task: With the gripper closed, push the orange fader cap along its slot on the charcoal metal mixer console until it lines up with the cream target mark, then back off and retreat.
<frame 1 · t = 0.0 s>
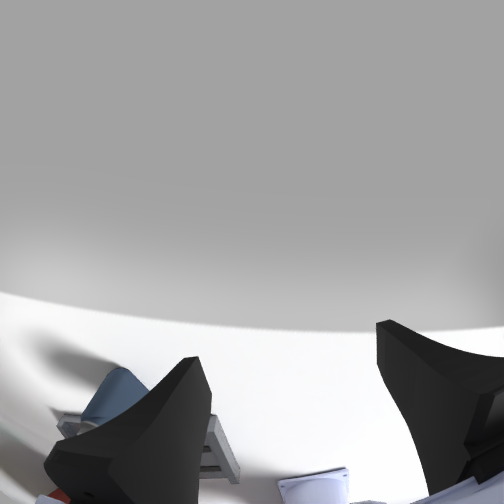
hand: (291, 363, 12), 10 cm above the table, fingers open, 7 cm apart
vaping device: (134, 386, 25), on the table
mixer console: (147, 446, 27), on the table
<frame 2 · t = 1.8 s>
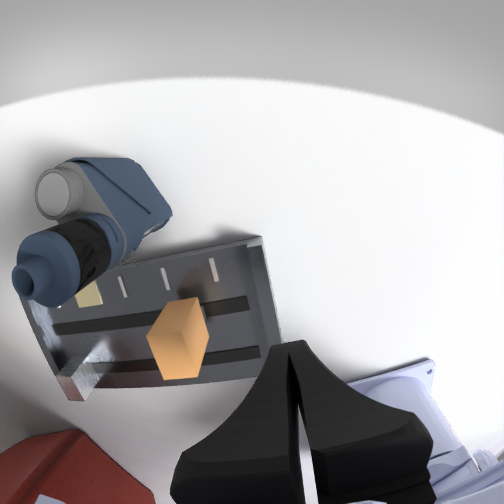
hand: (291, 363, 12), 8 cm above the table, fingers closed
plant pot: (87, 466, 27), on the table
orange fader: (182, 332, 16), point 4 cm above the table, slide at 0.0 cm
vaping device: (142, 196, 18), on the table
mixer console: (145, 325, 20), on the table
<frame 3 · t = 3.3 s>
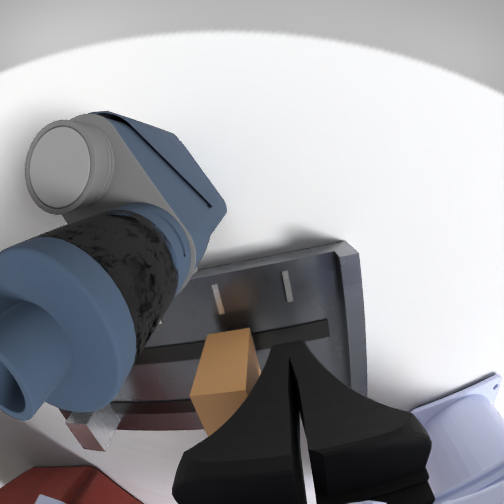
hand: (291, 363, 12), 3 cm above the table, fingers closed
plant pot: (101, 499, 22), on the table
orange fader: (232, 377, 12), point 4 cm above the table, slide at 0.8 cm, touching gripper
vaping device: (182, 185, 14), on the table
mixer console: (183, 356, 16), on the table
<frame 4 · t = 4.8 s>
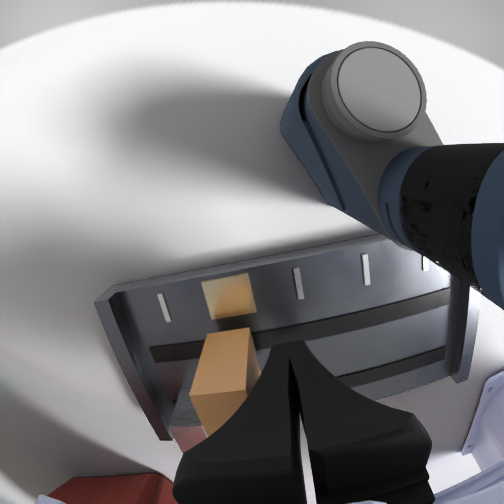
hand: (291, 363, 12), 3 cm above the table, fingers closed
orange fader: (232, 377, 12), point 4 cm above the table, slide at 7.2 cm, touching gripper
vaping device: (326, 155, 13), on the table
mixer console: (305, 336, 15), on the table
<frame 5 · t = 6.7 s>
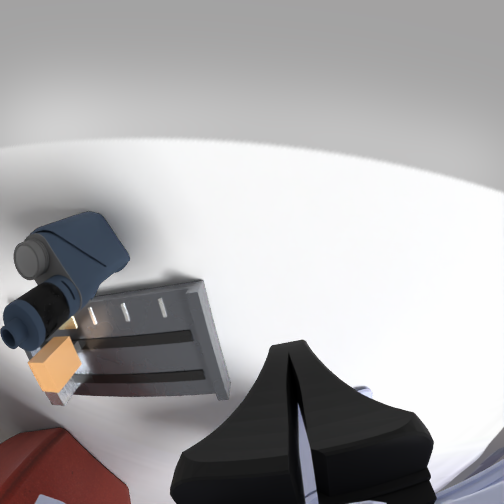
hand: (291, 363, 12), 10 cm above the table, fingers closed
plant pot: (71, 461, 29), on the table
orange fader: (58, 360, 20), point 4 cm above the table, slide at 7.2 cm
vaping device: (105, 241, 21), on the table
mixer console: (113, 346, 23), on the table
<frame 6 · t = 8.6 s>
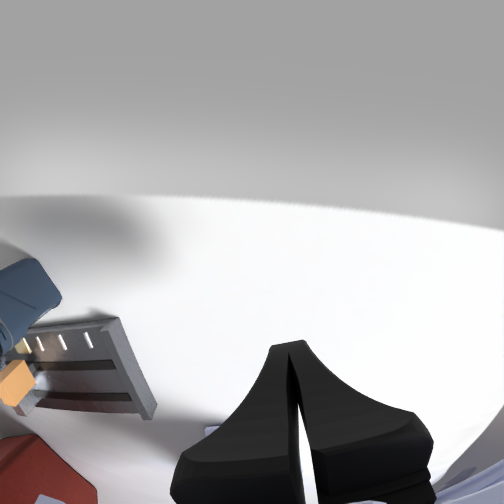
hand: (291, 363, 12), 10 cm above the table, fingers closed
plant pot: (47, 463, 30), on the table
orange fader: (16, 379, 21), point 4 cm above the table, slide at 7.2 cm
vaping device: (43, 282, 22), on the table
mixer console: (61, 368, 24), on the table
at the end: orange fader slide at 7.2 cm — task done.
